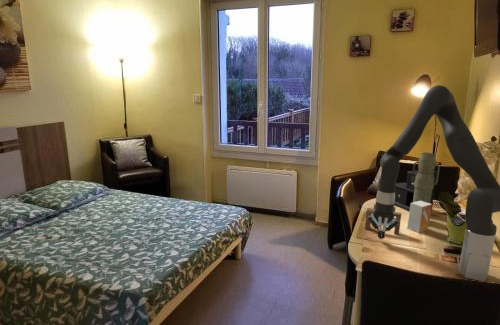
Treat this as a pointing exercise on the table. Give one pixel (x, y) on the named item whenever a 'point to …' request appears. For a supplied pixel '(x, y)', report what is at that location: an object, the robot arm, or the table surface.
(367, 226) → the bridge
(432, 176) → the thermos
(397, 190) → the black drawer cabinet
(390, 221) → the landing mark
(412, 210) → the small box
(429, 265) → the table surface
